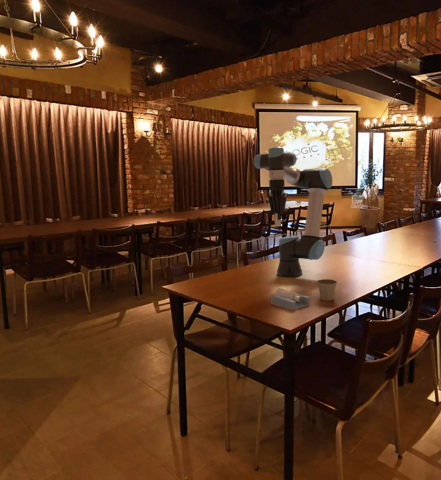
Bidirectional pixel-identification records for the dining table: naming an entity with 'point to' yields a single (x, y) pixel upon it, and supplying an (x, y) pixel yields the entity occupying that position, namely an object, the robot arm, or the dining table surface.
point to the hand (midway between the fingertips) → (278, 226)
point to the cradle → (290, 302)
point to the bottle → (289, 295)
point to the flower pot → (327, 289)
